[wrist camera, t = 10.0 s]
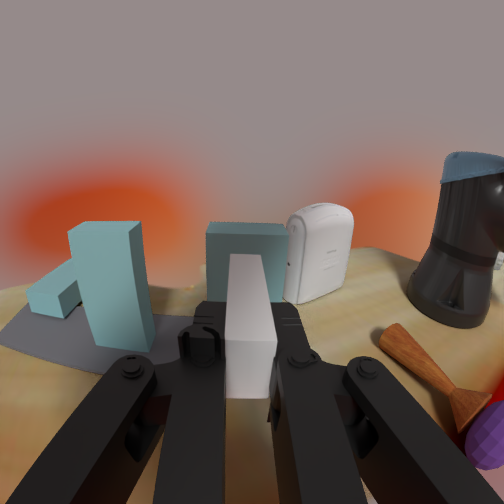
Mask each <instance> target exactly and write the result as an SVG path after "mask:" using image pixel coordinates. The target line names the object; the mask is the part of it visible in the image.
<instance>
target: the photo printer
mask: <svg viewBox="0 0 504 504" xmlns="http://www.w3.org/2000/svg"><path fill="white" fill-rule="evenodd" d="M353 228H354V219H353V216H352V213H351V212H350V210H348V209H347V208H344V207H342V206H339V205H336V204H332V203H318V204H313V205H309V206H307V207H304V208H302V209H300V210H298V211H296V212H295V213H293V214H292V215H291V216H290V217H289V219H288V221H287V226H286V231H287V232H288V234H289V242H288V252H287V262H286V271H285V280H284V289H283V298H284V299H285V300H286V301H287V302H290V303H292V304H302V303H306V302H308V301H311V300H314V299H316V298H318V297H321V296H323V295H325V294H328V293H330V292H332V291H334V290H336V289H338V288H340V287H341V286H342V285H343V282H344V279H345V274H346V269H347V263H348V258H349V253H350V246H351V239H352V234H353Z"/></svg>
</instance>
